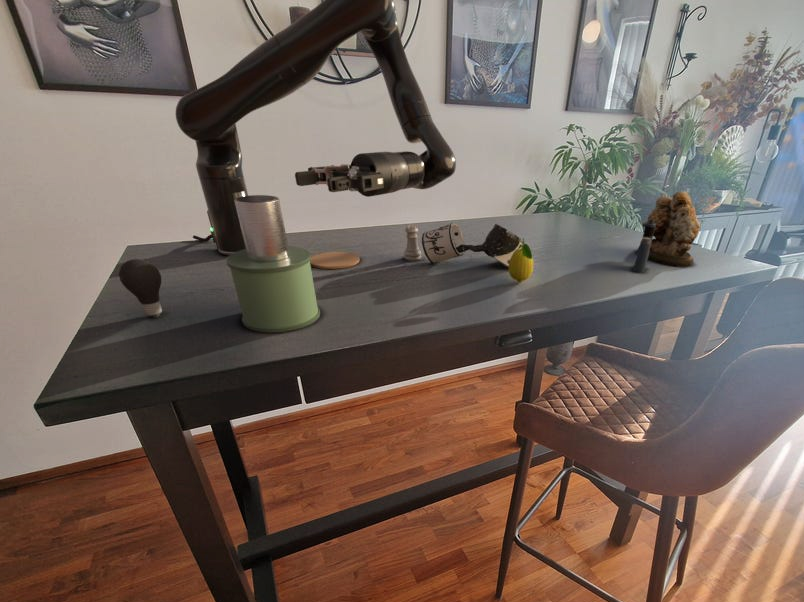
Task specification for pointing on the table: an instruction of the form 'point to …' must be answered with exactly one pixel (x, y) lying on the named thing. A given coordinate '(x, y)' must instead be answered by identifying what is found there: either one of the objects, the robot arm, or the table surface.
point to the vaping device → (644, 247)
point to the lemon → (521, 263)
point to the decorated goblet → (451, 245)
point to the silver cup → (262, 227)
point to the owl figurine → (673, 230)
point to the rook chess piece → (412, 244)
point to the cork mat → (334, 260)
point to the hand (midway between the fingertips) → (312, 182)
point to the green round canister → (275, 291)
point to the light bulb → (143, 283)
